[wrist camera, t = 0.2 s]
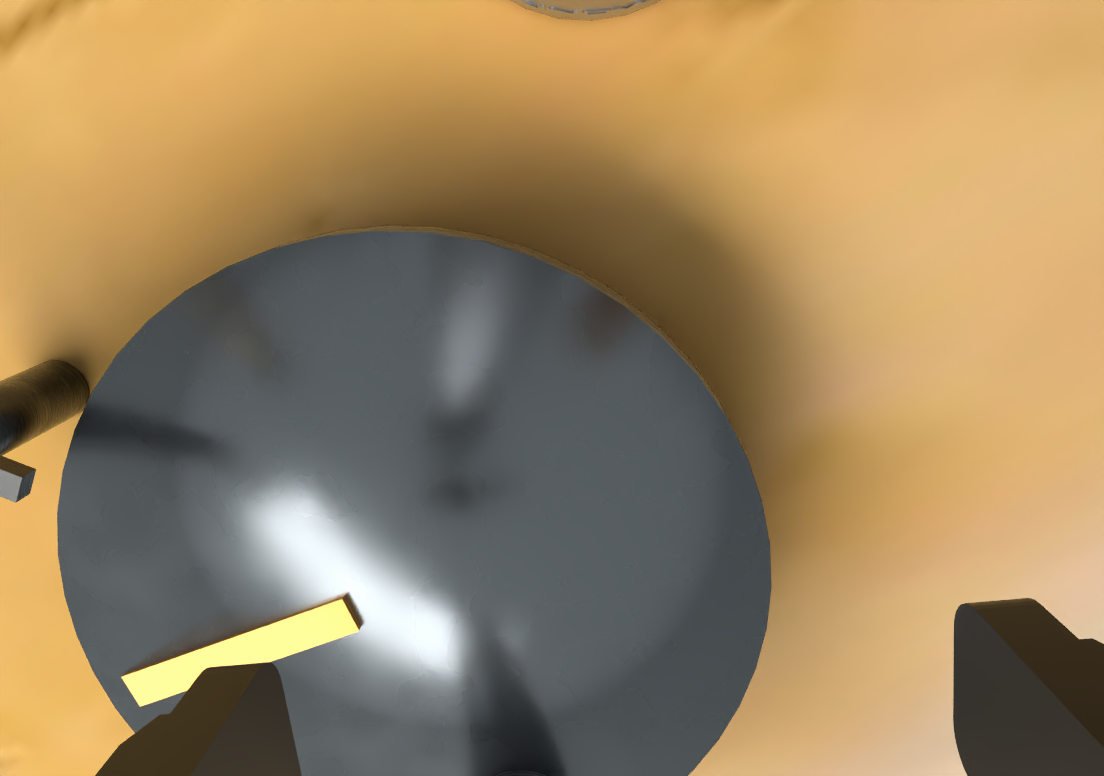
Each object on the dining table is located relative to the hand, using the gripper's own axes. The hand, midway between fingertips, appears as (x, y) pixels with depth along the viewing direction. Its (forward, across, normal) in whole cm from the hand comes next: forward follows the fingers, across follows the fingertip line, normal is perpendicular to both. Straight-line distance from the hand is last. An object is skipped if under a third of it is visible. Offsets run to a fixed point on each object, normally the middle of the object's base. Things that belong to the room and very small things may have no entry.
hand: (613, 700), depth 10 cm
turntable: (+16, +6, +6) cm, 18 cm away
